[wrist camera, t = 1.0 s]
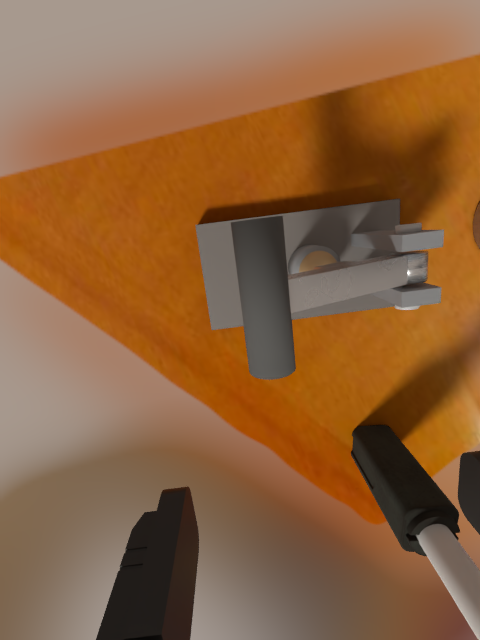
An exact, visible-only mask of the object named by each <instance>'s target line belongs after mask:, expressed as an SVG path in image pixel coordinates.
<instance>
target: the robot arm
mask: <svg viewBox="0 0 480 640" xmlns="http://www.w3.org/2000/svg"><path fill="white" fill-rule="evenodd" d="M473 234H474V238H475V241H476V243H477V245H478V247H479V249H480V203H479V204H478V207H477V209H476V212H475V215H474V221H473ZM458 500H459V504H460V507H461V509H462V511H463V513H464V515H465V517H466V518H467V520H468V521H469V522H470V523H471V525H472V526H473V527H474V528H475V530H476V531H477V532H478V533H479V534H480V451H475V452H467V453H463V454H462V455H461V458H460V471H459V485H458ZM198 553H199V534H198V526H197V521H196V516H195V511H194V506H193V501H192V496H191V492H190V488H189V487H181V488H174V489H166V490H163V491H162V494H161V497H160V500H159V504H158V508H157V511H152V512H145V513H144V514H143V515H142V517H141V518H140V519H139V521H138V522H137V524H136V525H135V526H134V528H133V529H132V531H131V534H130V537H129V540H128V543H127V547H126V552H125V554H124V556H123V559H122V562H121V565H120V571H118V574H117V577H116V580H115V583H114V586H113V590H112V592H111V595H110V598H109V601H108V604H107V608H106V611H105V614H104V617H103V620H102V623H101V626H100V629H99V632H98V635H97V638H96V640H190V635H191V625H192V615H193V604H194V594H195V583H196V573H197V563H198Z"/></svg>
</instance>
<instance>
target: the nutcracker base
mask: <svg viewBox="0 0 480 640" xmlns="http://www.w3.org/2000/svg"><path fill="white" fill-rule="evenodd" d="M275 216H283V224H284V236H285V248H286V260H287V272H288V275H290V274H295V273H300V272H305V271H310V270H314V267H316V266H321V265H326V264H332V263H337V262H342V261H354V262H356V261H361V260H366V259H371V258H376V257H381V256H386V255H388V254H391V253H396V252H407V251H415V250H423V249H430V248H438V247H443V237H444V230H421V226H422V223H413V224H404V225H400V199H393V200H386V201H378V202H370V203H362V204H355V205H347V206H339V207H331V208H324V209H316V210H308V211H301V212H293V213H285V214H277V215H270V216H262V217H254V218H246V219H239V220H231V221H223V222H215V223H208V224H200V225H196V232H197V238H198V245H199V251H200V258H201V264H202V270H203V277H204V283H205V290H206V296H207V303H208V309H209V315H210V322H211V328H212V330H216V329H223V328H231V327H239V326H244V324H243V316H242V309H241V301H240V293H239V285H238V277H237V269H236V261H235V253H234V245H233V238H232V230H231V222H237V221H244V220H251V219H258V218H266V217H275ZM435 303H441V287H438V286H434V285H430V284H427V283H423V282H422V283H417V284H406V285H402V286H398V287H394V288H390V289H386V290H382V291H378V292H374V293H370V294H366V295H362V296H358V297H354V298H350V299H346V300H342V301H338V302H334V303H330V304H326V305H322V306H318V307H314V308H310V309H306V310H302V311H298V312H294V313H291V319H292V320H293V319H300V318H308V317H316V316H324V315H331V314H339V313H347V312H354V311H362V310H370V309H377V308H385V307H393V306H395V308H396V309H401V310H413V309H418V308H419V306H420V305H428V304H435Z"/></svg>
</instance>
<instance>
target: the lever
mask: <svg viewBox="0 0 480 640" xmlns="http://www.w3.org/2000/svg"><path fill="white" fill-rule="evenodd" d="M231 230H232V238H233V245H234V253H235V261H236V269H237V277H238V285H239V293H240V301H241V309H242V316H243V324H244V332H245V340H246V348H247V356H248V364H249V372H250V374H251V375H252V376H254V377H256V378H260V379H279V378H283V377H286V376H288V375H290V374H292V373H293V372H294V371H295V369H296V367H295V355H294V343H293V331H292V319H291V313H294V312H298V311H302V310H306V309H310V308H314V307H318V306H322V305H326V304H330V303H334V302H338V301H342V300H346V299H350V298H354V297H358V296H362V295H366V294H370V293H374V292H378V291H382V290H386V289H390V288H394V287H398V286H402V285H406V284H417V283H422V282H426V281H427V275H428V251H407V252H396V253H391V254H388V255H386V256H381V257H376V258H371V259H366V260H361V261H356V262H354V261H342V262H337V263H332V264H326V265H321V266H316V267H314V270H310V271H305V272H300V273H295V274H290V275H288V272H287V260H286V248H285V236H284V224H283V216H275V217H266V218H258V219H251V220H244V221H237V222H231Z"/></svg>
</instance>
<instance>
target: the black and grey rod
mask: <svg viewBox="0 0 480 640" xmlns="http://www.w3.org/2000/svg"><path fill="white" fill-rule="evenodd" d="M352 436H353V450H352V452H351V456H352V458H353V459H354V461H355V463H356V465H357V467H358V468H359V470H360V472H361V474H362V476H363V478H364V479H365V481H366V483H367V485H368V487H369V489H370V490H371V492H372V494H373V496H374V498H375V499H376V501H377V503H378V505H379V507H380V509H381V510H382V512H383V514H384V516H385V518H386V519H387V521H388V523H389V525H390V527H391V529H392V530H393V532H394V534H395V536H396V538H397V539H398V541H399V543H400V545H401V547H402V548H403V549H404V550H406V551H409V552H416V553H418V554H420V555H423V556H427V557H428V558H429V560H430V562H431V563H432V565H433V566H434V568H435V570H436V571H437V573H438V575H439V576H440V578H441V579H442V581H443V583H444V584H445V586H446V587H447V589H448V591H449V592H450V594H451V596H452V597H453V599H454V601H455V602H456V604H457V606H458V607H459V609H460V611H461V612H462V613H463V615H464V617H465V619H466V620H467V622H468V624H469V625H470V627H471V628H472V630H473V631H474V633H475V635H476V636H477V638H478V640H480V570H479V569H478V567H477V566H476V565H475V563H474V562H473V561H472V559H471V558H470V556H469V555H468V554H467V553H466V551H465V550H464V548H463V547H462V546H461V544H460V543H459V542H458V537H457V536H456V533H459V532H460V529H459V527H458V525H457V523H458V518H459V512H458V510H457V509H456V508H455V506H454V505H453V504H452V503H451V502H450V500H449V499H448V498H447V497H446V495H445V494H444V493H443V492H442V491H441V490H440V488H439V487H438V486H437V484H436V483H435V482H434V481H433V480H432V478H431V477H430V476H429V475H428V474H427V472H426V471H425V470H424V469H423V467H422V466H421V465H420V464H419V463H418V461H417V460H416V459H415V458H414V457H413V455H412V454H411V453H410V452H409V450H408V449H407V448H406V447H405V446H404V444H403V443H402V442H401V441H400V439H399V438H398V437H397V436H396V435H395V433H394V432H393V431H392V430H391V429H390V427H388V426H386V425H372V426H359V427H357V428H356V429H355V430H354V431H353V433H352Z"/></svg>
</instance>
